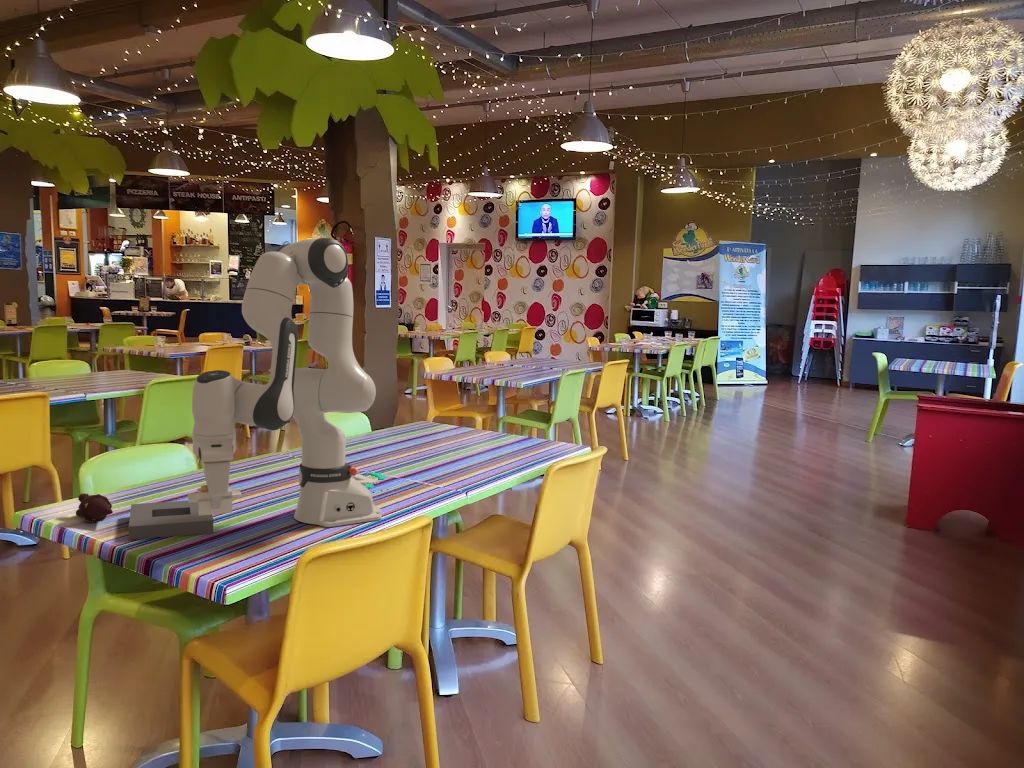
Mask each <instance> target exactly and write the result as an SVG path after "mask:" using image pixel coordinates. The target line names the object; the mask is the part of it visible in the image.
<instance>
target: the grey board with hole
mask: <svg viewBox="0 0 1024 768" xmlns="http://www.w3.org/2000/svg"><path fill="white" fill-rule="evenodd" d="M129 514H130V515H129V521H128V541H131V539H136V540H144V539H147V538H148V539H156V538H155V537H160V538H169V537H170V536H172V537H181V536H194V535H195V536H196V535H203V534H204V535H205V534H206V535H207V534H214V517H213V514H210V515H200V516H199V514H198V502H190V503H189V502H188V500H176V501H160V502H159V501H158V502H145V503H131V505H130V512H129ZM166 536H168V537H166ZM148 539H147V540H148Z"/></svg>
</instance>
